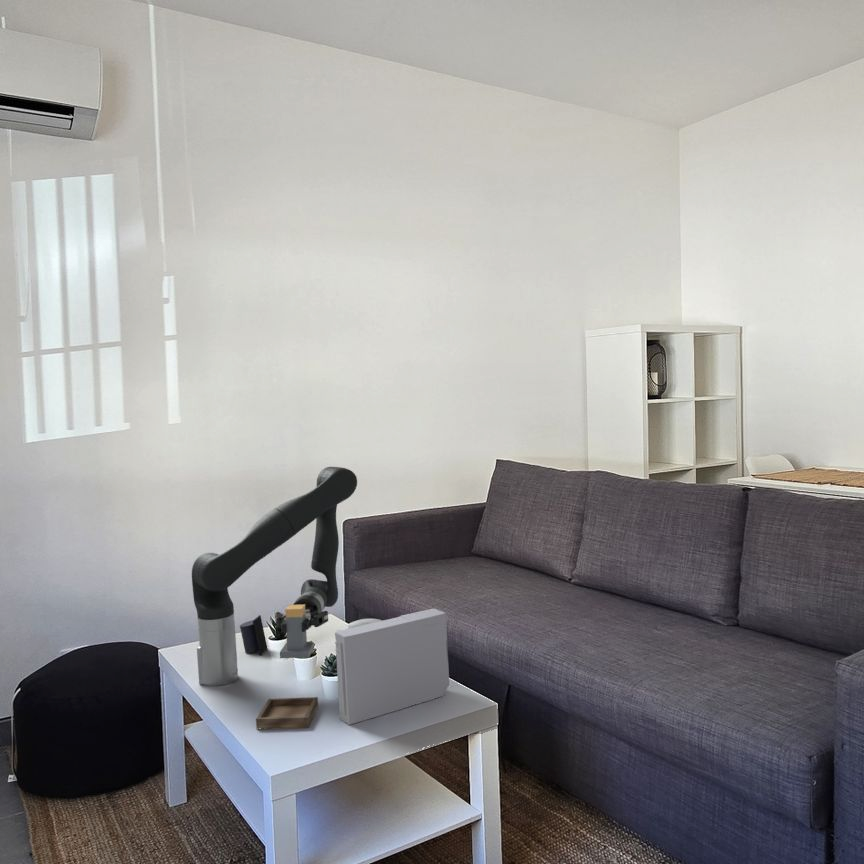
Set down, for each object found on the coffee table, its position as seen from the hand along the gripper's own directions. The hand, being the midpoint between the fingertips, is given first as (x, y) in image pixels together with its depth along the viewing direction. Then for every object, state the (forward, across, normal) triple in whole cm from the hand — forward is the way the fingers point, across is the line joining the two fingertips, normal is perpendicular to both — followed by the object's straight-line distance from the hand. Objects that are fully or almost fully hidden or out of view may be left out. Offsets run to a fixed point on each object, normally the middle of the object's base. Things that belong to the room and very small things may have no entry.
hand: (293, 627), depth 191 cm
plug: (-3, 0, +7) cm, 8 cm away
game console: (+6, +24, +17) cm, 31 cm away
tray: (+11, 0, +17) cm, 21 cm away
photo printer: (-23, +14, +17) cm, 32 cm away
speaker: (-37, -21, +18) cm, 46 cm away
